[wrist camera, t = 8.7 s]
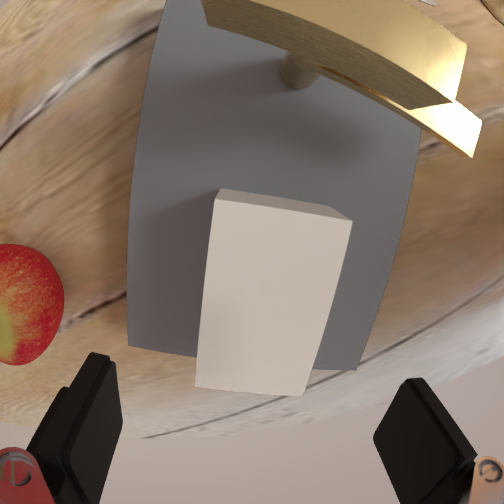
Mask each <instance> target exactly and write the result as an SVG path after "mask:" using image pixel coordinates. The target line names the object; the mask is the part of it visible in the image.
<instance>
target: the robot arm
mask: <svg viewBox="0 0 504 504" xmlns="http://www.w3.org/2000/svg"><path fill="white" fill-rule="evenodd" d="M122 424H123V419H122V412H121V405H120V398H119V391H118V382H117V373H116V364H115V362H113V361H110V357H109V356H107V355H103V354H98V353H94V352H91V353H90V354H89V355H88V357H87V359H86V360H85V362H84V364H83V365H82V367H81V369H80V370H79V372H78V374H77V375H76V377H75V379H74V380H73V382H72V384H71V385H70V387H69V388H68V387H63V388H61V389H60V391H59V392H58V394H57V395H56V397H55V399H54V401H53V402H52V404H51V406H50V407H49V409H48V411H47V413H46V414H45V416H44V418H43V419H42V421H41V423H40V425H39V427H38V428H37V430H36V432H35V434H34V436H33V438H32V439H31V441H30V443H29V445H28V447H27V449H26V450H24V449H22V448H17V447H7V448H5V449H1V450H0V504H99V502H100V498H101V495H102V491H103V487H104V484H105V481H106V477H107V474H108V470H109V467H110V464H111V461H112V458H113V454H114V451H115V448H116V445H117V442H118V439H119V436H120V433H121V429H122ZM373 441H374V444H375V446H376V448H377V451H378V453H379V455H380V457H381V460H382V462H383V464H384V467H385V469H386V471H387V474H388V476H389V478H390V480H391V483H392V485H393V488H394V490H395V492H396V495H397V497H398V499H399V502H400V504H504V466H503V465H502V464H501V463H500V461H498V460H497V459H495V458H493V457H489V456H485V457H481V458H480V459H478V460H477V462H476V463H475V462H474V459H475V457H476V456H477V455H478V454H477V453H476V452H475V450H474V448H473V447H472V446H471V445H470V443H469V441H468V440H467V438H466V437H465V435H464V434H463V433H462V431H461V430H460V428H459V427H458V425H457V424H456V422H455V421H454V420H453V418H452V417H451V415H450V414H449V413H448V411H447V410H446V409H445V407H444V406H443V404H442V403H441V402H440V400H439V399H438V397H437V396H436V395H435V393H434V392H433V391H432V389H431V388H430V387H429V385H428V384H427V383H426V381H425V380H424V379H423V378H409V379H407V380H405V382H404V383H402V384H401V386H400V387H399V389H398V391H397V393H396V395H395V397H394V399H393V401H392V403H391V405H390V406H389V408H388V410H387V412H386V414H385V415H384V417H383V419H382V421H381V423H380V424H379V426H378V428H377V429H376V431H375V433H374V436H373Z"/></svg>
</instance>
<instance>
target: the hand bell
mask: <svg viewBox="0 0 504 504" xmlns="http://www.w3.org/2000/svg"><path fill="white" fill-rule="evenodd" d="M482 1H483V3H484V4H485V5H486V7H487V8H488V9H489V10H490V12H491V13H492V14H493V15H494V16H495V17H496V18H497V19H498V20H499V21H500V22H501V23H502V24H503V25H504V0H482Z"/></svg>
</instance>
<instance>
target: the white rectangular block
mask: <svg viewBox="0 0 504 504" xmlns="http://www.w3.org/2000/svg"><path fill="white" fill-rule="evenodd" d="M352 223H353V221H352V220H350V219H348V218H347V217H345V216H344V215H342V214H341V213H339V212H338V211H336V210H335V209H333V208H331V207H330V206H327V205H321V204H316V203H310V202H304V201H299V200H293V199H287V198H281V197H275V196H269V195H262V194H256V193H250V192H243V191H236V190H229V189H222V188H221V189H220V191H219V192H218V194H217V196H216V198H215V201H214V208H213V216H212V223H211V231H210V239H209V247H208V255H207V264H206V272H205V281H204V290H203V299H202V309H201V319H200V329H199V340H198V351H197V362H196V375H195V387H201V388H209V389H216V390H225V391H234V392H244V393H255V394H267V395H283V396H303V393H304V391H305V388H306V385H307V382H308V379H309V376H310V373H311V370H312V367H313V364H314V361H315V358H316V355H317V352H318V349H319V346H320V342H321V339H322V336H323V333H324V329H325V326H326V323H327V319H328V316H329V312H330V309H331V306H332V302H333V298H334V295H335V291H336V287H337V284H338V280H339V276H340V272H341V269H342V265H343V261H344V257H345V253H346V249H347V244H348V240H349V236H350V232H351V227H352Z"/></svg>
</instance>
